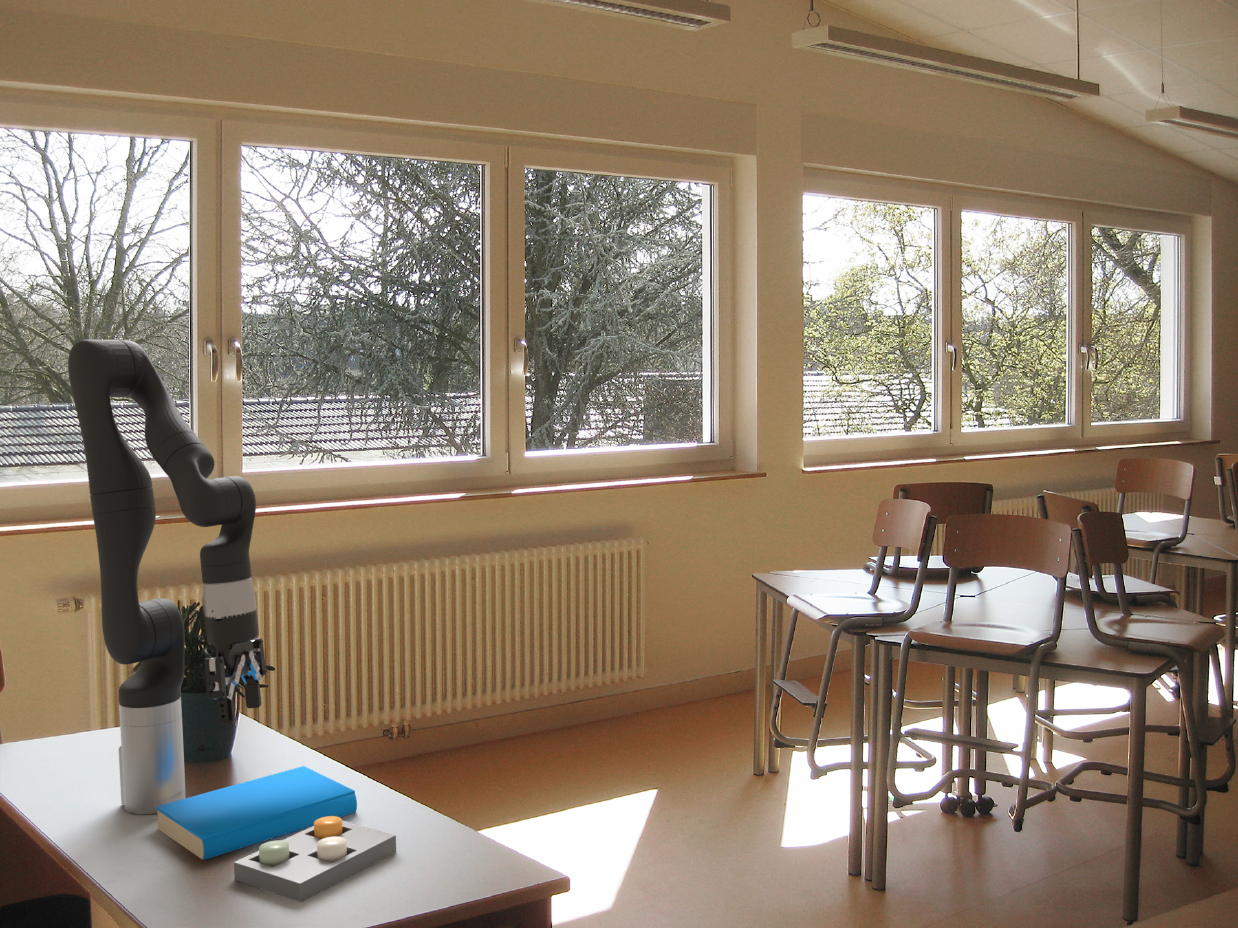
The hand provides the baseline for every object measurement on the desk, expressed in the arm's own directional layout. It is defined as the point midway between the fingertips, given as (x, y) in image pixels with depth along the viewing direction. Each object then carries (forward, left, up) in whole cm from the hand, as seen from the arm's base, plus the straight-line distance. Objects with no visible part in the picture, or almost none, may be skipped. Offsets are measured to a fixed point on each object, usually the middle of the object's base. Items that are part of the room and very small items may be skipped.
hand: (241, 715), depth 172 cm
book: (-1, +3, -18) cm, 19 cm away
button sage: (+16, -9, -16) cm, 24 cm away
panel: (+19, -4, -18) cm, 26 cm away
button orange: (+16, +1, -16) cm, 23 cm away
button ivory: (+22, -4, -16) cm, 28 cm away
